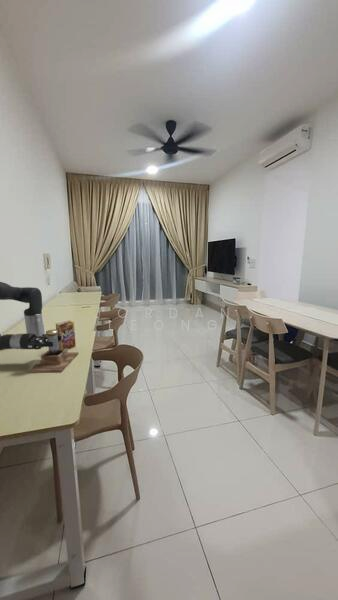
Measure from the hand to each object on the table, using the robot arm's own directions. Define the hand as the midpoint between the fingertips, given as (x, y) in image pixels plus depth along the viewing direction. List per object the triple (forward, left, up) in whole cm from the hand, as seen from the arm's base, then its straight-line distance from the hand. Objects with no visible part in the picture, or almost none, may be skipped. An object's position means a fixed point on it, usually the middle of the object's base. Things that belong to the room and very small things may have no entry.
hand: (57, 340), depth 116 cm
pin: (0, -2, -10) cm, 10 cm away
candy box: (-18, -4, -11) cm, 22 cm away
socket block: (0, -2, -11) cm, 11 cm away
